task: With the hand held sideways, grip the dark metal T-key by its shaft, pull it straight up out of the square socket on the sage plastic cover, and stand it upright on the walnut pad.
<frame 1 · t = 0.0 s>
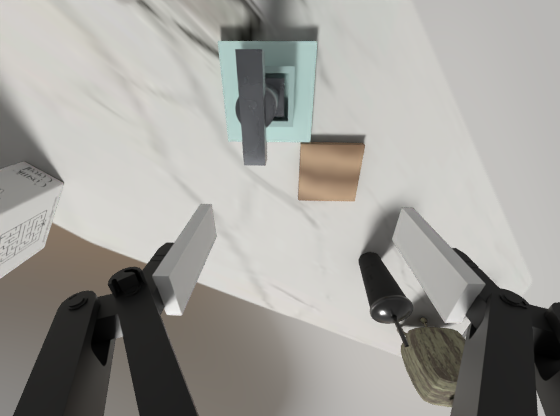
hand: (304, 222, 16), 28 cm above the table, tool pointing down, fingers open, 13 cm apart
drinking cup: (368, 259, 55), on the table
walnut pad: (328, 171, 44), on the table
snap cover: (269, 95, 38), on the table
tabletop clock: (419, 321, 66), on the table
cereal box: (36, 208, 50), on the table
t key: (268, 96, 36), point 2 cm above the table, touching snap cover
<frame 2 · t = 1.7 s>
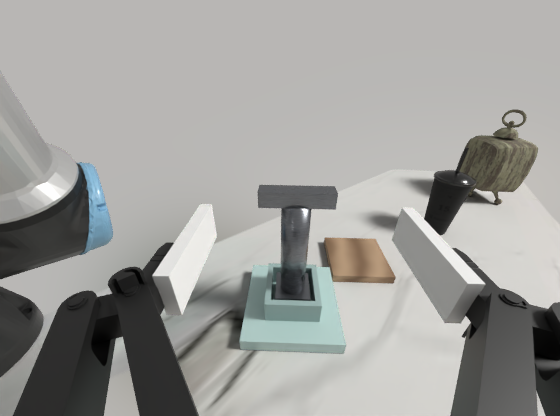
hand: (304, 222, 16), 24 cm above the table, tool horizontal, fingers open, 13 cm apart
drinking cup: (432, 229, 56), on the table
walnut pad: (355, 261, 46), on the table
snap cover: (291, 306, 37), on the table
tabletop clock: (474, 196, 72), on the table
t key: (291, 298, 36), point 2 cm above the table, touching snap cover
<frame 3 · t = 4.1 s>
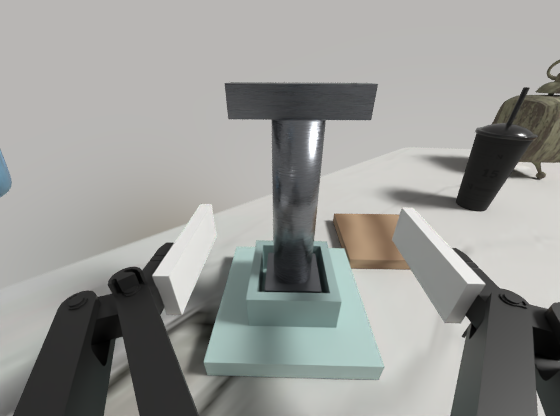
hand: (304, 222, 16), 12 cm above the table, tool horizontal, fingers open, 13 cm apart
drinking cup: (470, 205, 44), on the table
walnut pad: (376, 242, 34), on the table
snap cover: (290, 303, 25), on the table
tabletop clock: (508, 171, 60), on the table
t key: (291, 291, 24), point 2 cm above the table, touching snap cover
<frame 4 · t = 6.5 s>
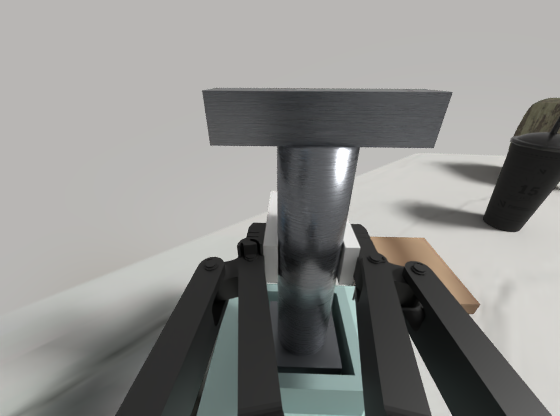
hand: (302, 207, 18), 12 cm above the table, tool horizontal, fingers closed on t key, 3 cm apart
drinking cup: (500, 224, 39), on the table
walnut pad: (398, 273, 29), on the table
snap cover: (298, 365, 20), on the table
tabletop clock: (534, 181, 55), on the table
t key: (299, 352, 19), point 2 cm above the table, touching gripper, snap cover
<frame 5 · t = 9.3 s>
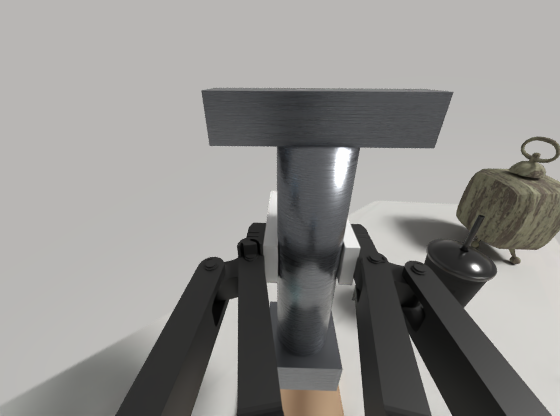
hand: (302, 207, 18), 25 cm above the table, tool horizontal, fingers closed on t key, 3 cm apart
drinking cup: (425, 321, 37), on the table
walnut pad: (293, 411, 27), on the table
tabletop clock: (481, 247, 54), on the table
t key: (299, 353, 19), point 15 cm above the table, touching gripper
when the fingers open (13 cm above the table, at t = 12.2 s): t key drops 1 cm, resting on walnut pad.
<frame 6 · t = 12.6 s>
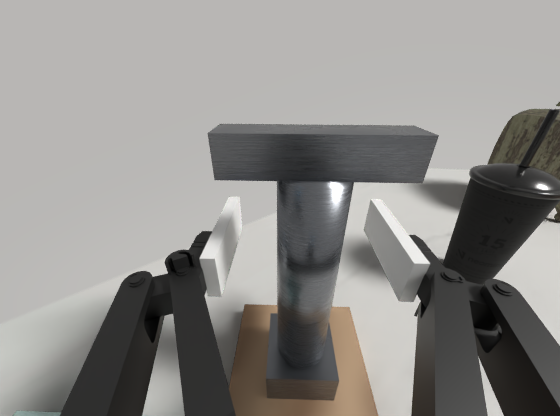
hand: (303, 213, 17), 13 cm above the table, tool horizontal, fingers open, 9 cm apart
drinking cup: (462, 275, 30), on the table
walnut pad: (298, 371, 20), on the table
tabletop clock: (516, 207, 46), on the table
t key: (298, 363, 19), point 1 cm above the table, touching walnut pad
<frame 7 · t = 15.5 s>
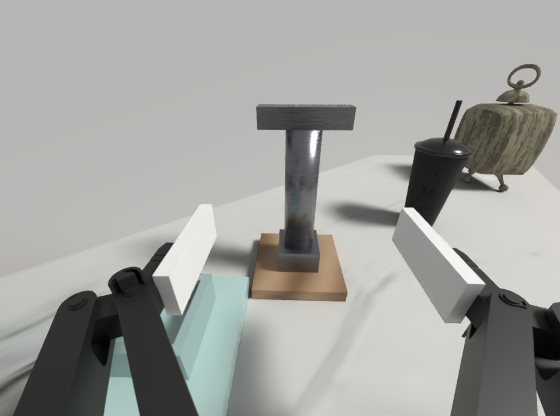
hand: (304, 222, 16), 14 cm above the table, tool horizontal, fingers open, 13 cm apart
drinking cup: (416, 222, 42), on the table
walnut pad: (297, 266, 32), on the table
snap cover: (168, 343, 23), on the table
tabletop clock: (473, 182, 58), on the table
t key: (297, 258, 31), point 1 cm above the table, touching walnut pad
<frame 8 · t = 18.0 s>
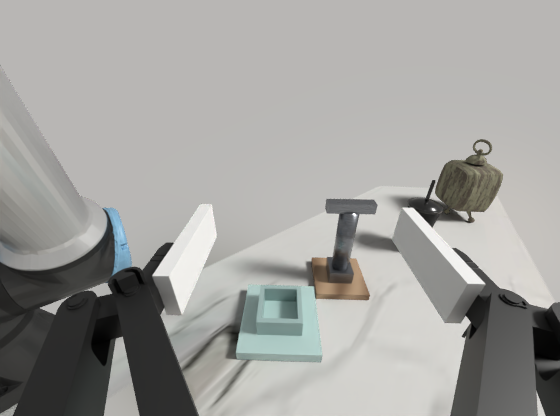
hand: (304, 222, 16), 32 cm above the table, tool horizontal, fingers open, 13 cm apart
drinking cup: (409, 248, 63), on the table
walnut pad: (337, 279, 53), on the table
snap cover: (280, 321, 44), on the table
tabletop clock: (451, 214, 79), on the table
t key: (338, 274, 53), point 1 cm above the table, touching walnut pad
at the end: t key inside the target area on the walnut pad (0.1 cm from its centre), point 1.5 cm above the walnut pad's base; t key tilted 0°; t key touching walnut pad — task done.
